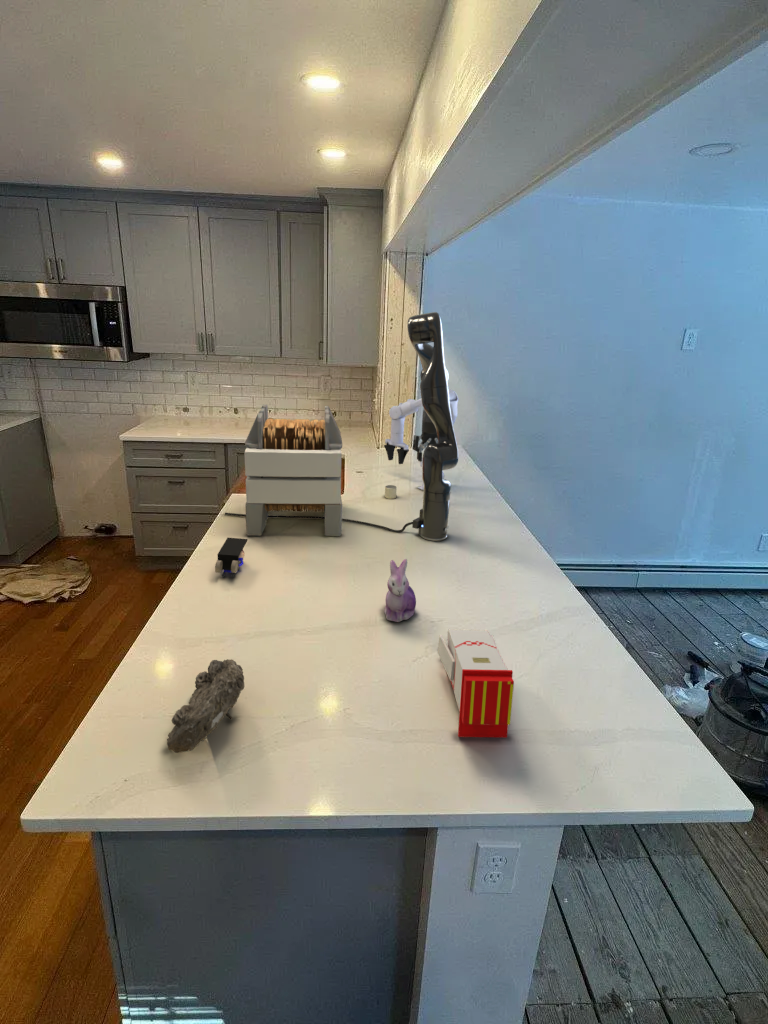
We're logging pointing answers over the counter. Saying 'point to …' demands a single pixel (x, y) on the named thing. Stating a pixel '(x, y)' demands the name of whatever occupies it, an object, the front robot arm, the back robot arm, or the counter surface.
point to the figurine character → (230, 556)
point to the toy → (478, 682)
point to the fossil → (206, 705)
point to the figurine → (399, 594)
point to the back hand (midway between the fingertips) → (395, 461)
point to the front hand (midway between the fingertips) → (429, 460)
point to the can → (390, 491)
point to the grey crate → (293, 470)
